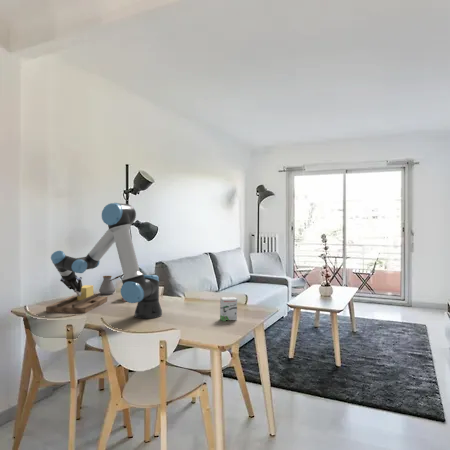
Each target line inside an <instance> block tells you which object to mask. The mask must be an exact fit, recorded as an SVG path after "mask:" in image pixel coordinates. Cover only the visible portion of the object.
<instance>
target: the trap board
mask: <svg viewBox="0 0 450 450" xmlns="http://www.w3.org/2000/svg"><path fill="white" fill-rule="evenodd" d="M106 302H108V296H98V293H93V295H92V296H90V297H87V298H85V299H83V300H81V301H80V300H77V295H73V296H69V297H67V298H65V299H62V300H60V301H57V302H55V303H52V304H50V305H47V306H45V312H46V313H66V314H67V313H68V314H69V313H73V314H76V313H77V314H86V313H88V312H90V311H92V310H94V309H96V308H98V307H99V306H101V305H104V304H105V303H106Z"/></svg>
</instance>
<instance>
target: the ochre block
mask: <svg viewBox="0 0 450 450" xmlns="http://www.w3.org/2000/svg"><path fill="white" fill-rule="evenodd" d="M81 292H82V294H81V296H78V295H77V294H76V296H77V300H80V301H81V300H83V299H85V298H87V297H90V296H92V295H93V294H94V284H93V285H91V284H84V285H82V288H81Z"/></svg>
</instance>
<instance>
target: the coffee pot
mask: <svg viewBox="0 0 450 450" xmlns="http://www.w3.org/2000/svg"><path fill="white" fill-rule="evenodd" d="M112 277H113V276H112V275H103V276H102V278H103V279H102V282H101V285H100V287H99V288H98V289H99V290H98V292H99V293H100V294H101V295H105V296H106V295H113V294H114V293H115V292H116V287H115V285H114V284H113V281H114V280H117V279H119V278H122V279H123V277H124V276H123V274H121V275H118V276H115V277H113V278H112Z"/></svg>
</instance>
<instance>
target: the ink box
mask: <svg viewBox="0 0 450 450" xmlns="http://www.w3.org/2000/svg"><path fill="white" fill-rule="evenodd" d="M219 306H220V309H219V319H220V321H222V322H227V321H226V320H235V321H238V298H237V297H234V296H229V297H227V296H226V297H223V296H222V297H220V305H219Z"/></svg>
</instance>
